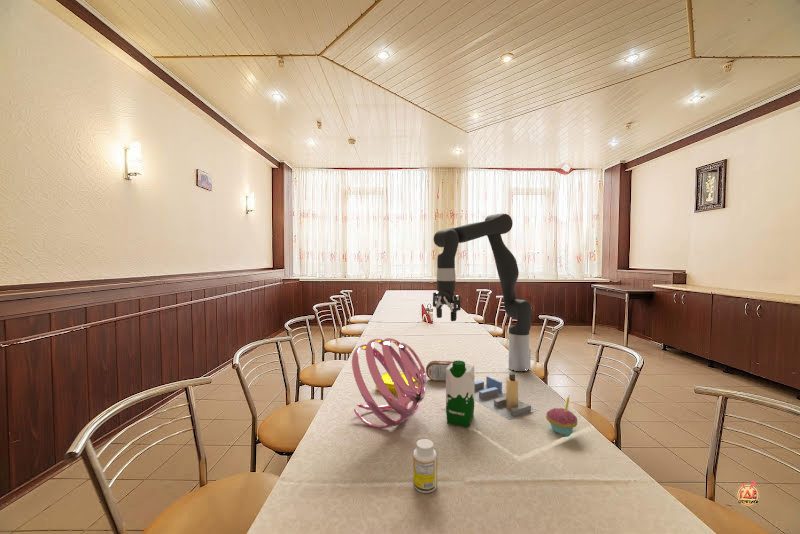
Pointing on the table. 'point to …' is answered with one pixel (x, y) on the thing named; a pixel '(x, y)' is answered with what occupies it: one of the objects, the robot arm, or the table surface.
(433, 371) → the tin
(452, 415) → the milk carton
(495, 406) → the slotted grey board
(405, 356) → the spiral basket
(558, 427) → the cupcake
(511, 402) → the yellow bottle
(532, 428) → the table surface
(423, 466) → the supplement bottle
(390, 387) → the element tile
